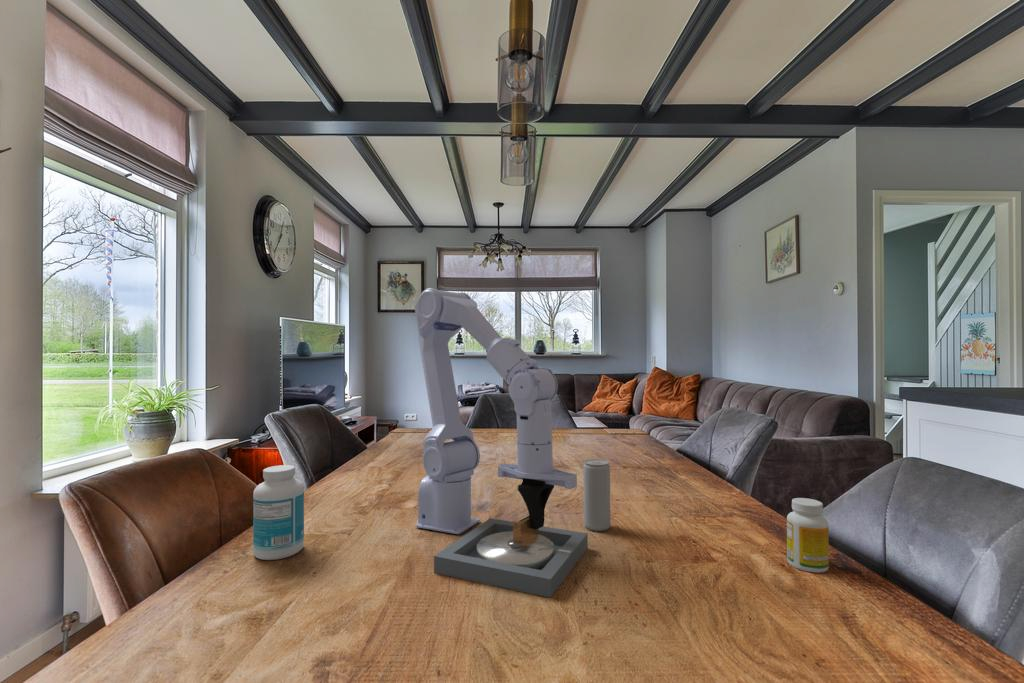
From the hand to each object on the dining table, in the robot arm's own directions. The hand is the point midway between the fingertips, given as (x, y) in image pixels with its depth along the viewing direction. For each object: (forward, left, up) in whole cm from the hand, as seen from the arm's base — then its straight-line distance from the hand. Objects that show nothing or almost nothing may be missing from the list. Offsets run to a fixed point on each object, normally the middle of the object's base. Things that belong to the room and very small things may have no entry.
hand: (536, 527), depth 78 cm
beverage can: (+6, +15, -4) cm, 17 cm away
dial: (-2, -4, -4) cm, 6 cm away
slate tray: (-2, -4, -4) cm, 6 cm away
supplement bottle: (+39, +12, -4) cm, 41 cm away
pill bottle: (-38, -17, -4) cm, 42 cm away
